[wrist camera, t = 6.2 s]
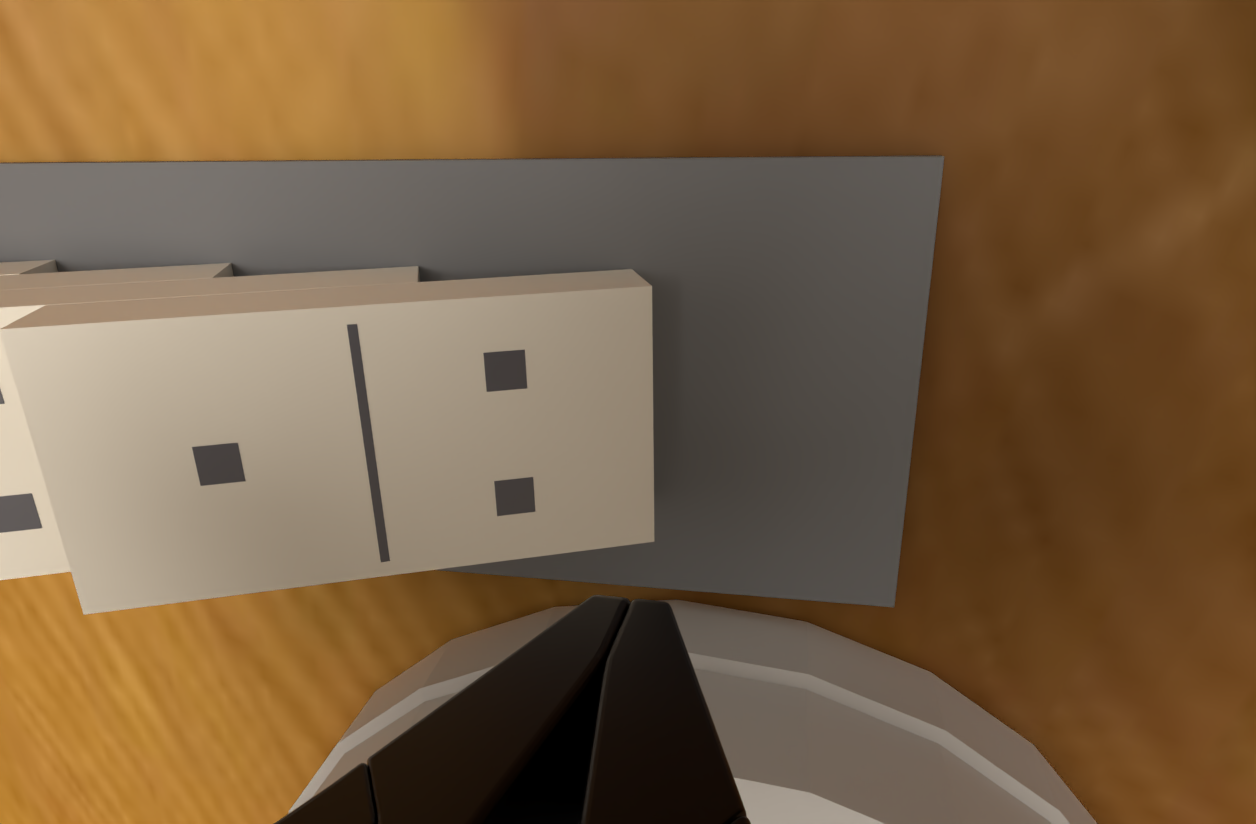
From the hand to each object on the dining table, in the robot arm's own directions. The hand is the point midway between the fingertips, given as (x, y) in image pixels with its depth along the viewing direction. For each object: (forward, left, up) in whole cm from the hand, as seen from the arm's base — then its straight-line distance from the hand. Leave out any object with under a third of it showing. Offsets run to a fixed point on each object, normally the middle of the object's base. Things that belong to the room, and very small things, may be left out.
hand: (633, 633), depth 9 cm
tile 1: (+1, 0, -7) cm, 7 cm away
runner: (+6, 0, -8) cm, 11 cm away
